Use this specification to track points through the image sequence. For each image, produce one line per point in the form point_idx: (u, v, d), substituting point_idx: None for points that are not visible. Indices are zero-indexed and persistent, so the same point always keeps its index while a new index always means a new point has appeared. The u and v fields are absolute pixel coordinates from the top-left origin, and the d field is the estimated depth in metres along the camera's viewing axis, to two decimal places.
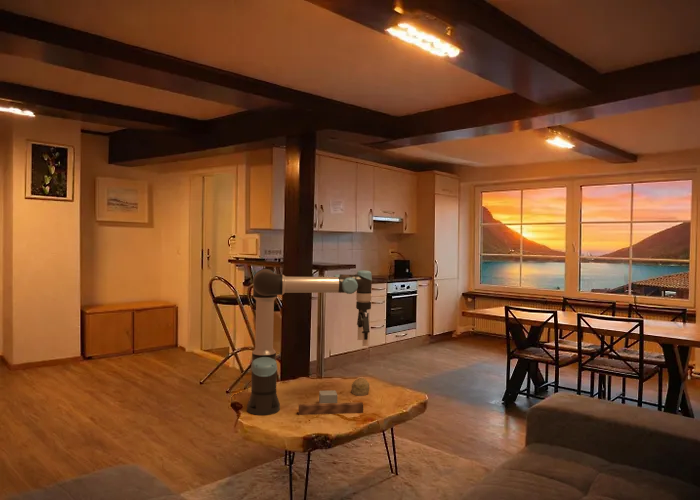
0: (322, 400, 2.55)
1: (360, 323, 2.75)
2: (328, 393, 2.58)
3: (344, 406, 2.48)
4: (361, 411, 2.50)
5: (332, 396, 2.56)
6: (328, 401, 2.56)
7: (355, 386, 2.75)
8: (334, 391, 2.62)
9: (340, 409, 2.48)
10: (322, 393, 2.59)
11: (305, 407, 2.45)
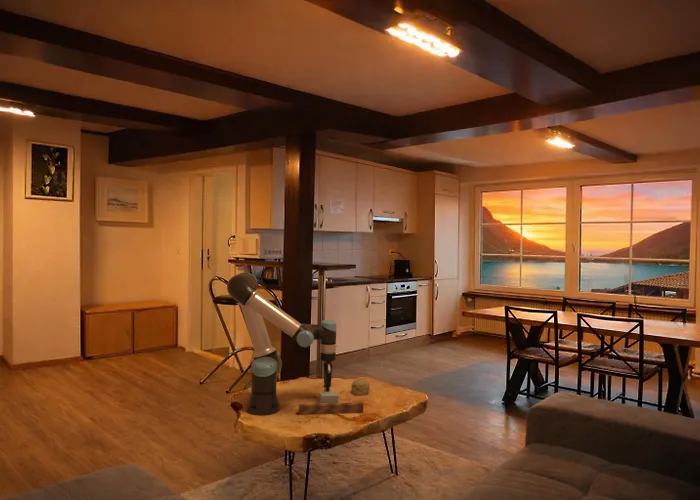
0: (323, 401, 2.53)
1: None
2: (329, 394, 2.56)
3: (344, 406, 2.48)
4: (361, 411, 2.50)
5: (333, 397, 2.54)
6: (329, 402, 2.54)
7: (355, 386, 2.75)
8: (334, 392, 2.60)
9: (340, 409, 2.48)
10: (323, 394, 2.57)
11: (305, 407, 2.45)
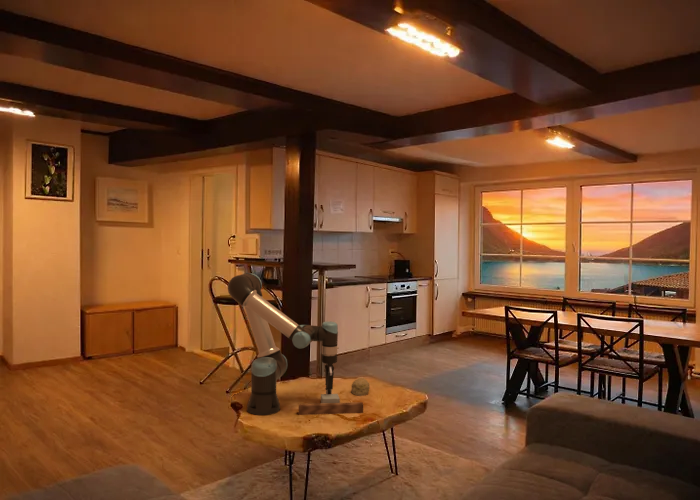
0: None
1: None
2: (330, 397, 2.52)
3: (344, 406, 2.48)
4: (361, 411, 2.50)
5: (334, 400, 2.50)
6: None
7: (355, 386, 2.75)
8: (336, 394, 2.56)
9: (340, 409, 2.48)
10: (324, 396, 2.53)
11: (305, 407, 2.45)
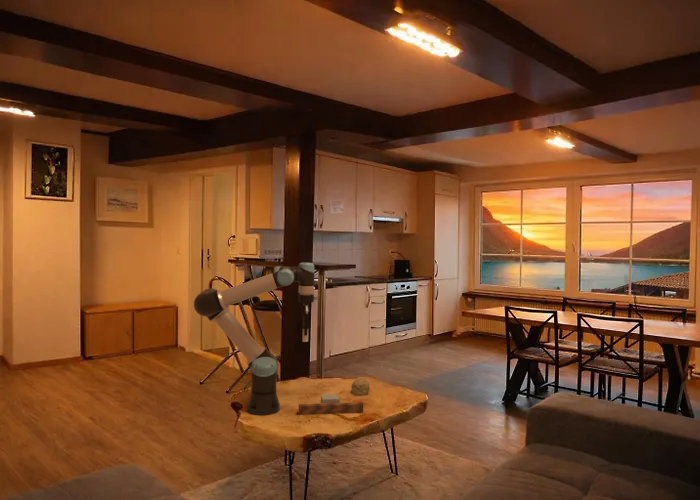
0: None
1: None
2: (330, 397, 2.52)
3: (344, 406, 2.48)
4: (361, 411, 2.50)
5: (334, 400, 2.50)
6: None
7: (355, 386, 2.75)
8: (336, 395, 2.56)
9: (340, 409, 2.48)
10: (324, 397, 2.53)
11: (305, 407, 2.45)
